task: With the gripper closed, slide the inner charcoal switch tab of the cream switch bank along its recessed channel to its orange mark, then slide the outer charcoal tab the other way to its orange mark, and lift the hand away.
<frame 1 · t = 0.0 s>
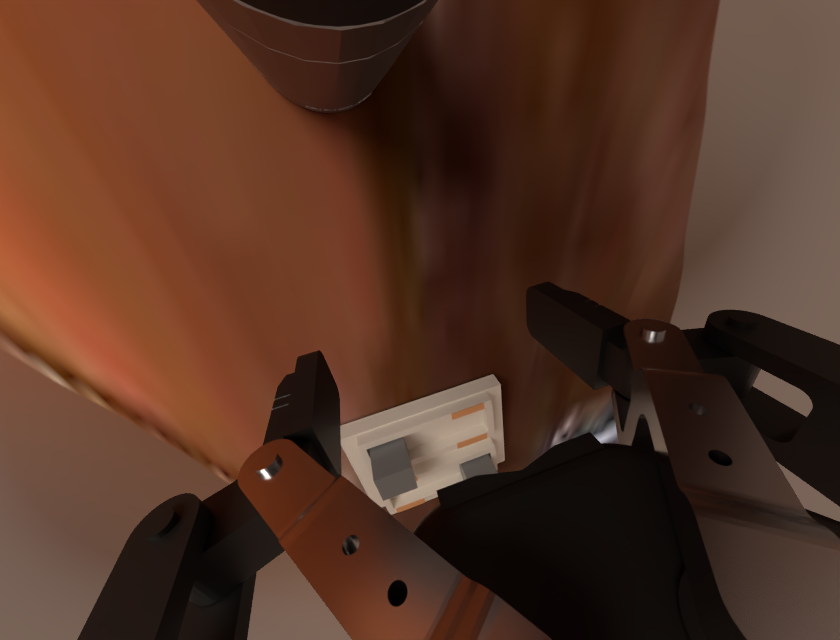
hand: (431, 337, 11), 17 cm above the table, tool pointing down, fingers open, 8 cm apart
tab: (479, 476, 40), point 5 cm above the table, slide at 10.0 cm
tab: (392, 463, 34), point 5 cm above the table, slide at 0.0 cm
switch bank: (429, 439, 41), on the table
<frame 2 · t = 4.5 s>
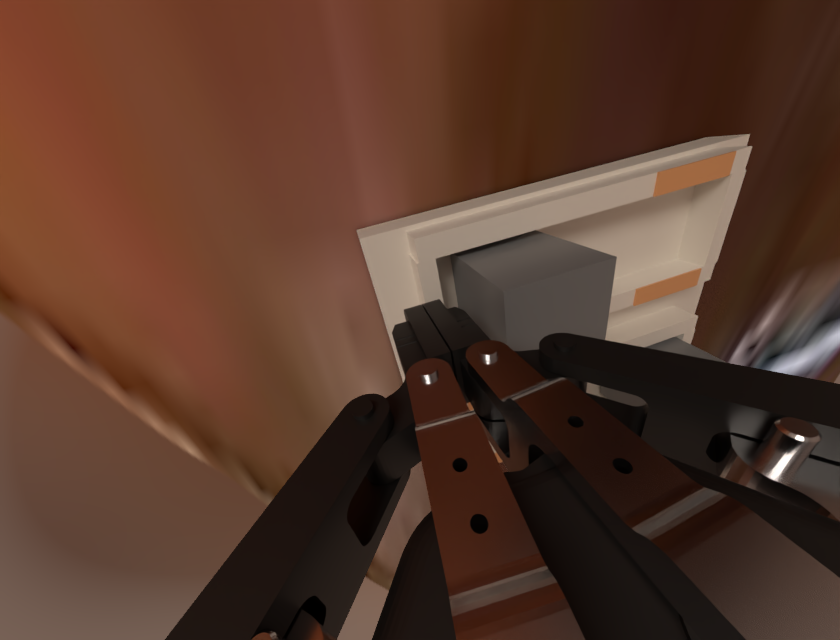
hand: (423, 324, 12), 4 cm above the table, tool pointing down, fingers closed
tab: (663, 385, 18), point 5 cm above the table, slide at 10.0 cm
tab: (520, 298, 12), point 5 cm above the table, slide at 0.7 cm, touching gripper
switch bank: (543, 312, 19), on the table
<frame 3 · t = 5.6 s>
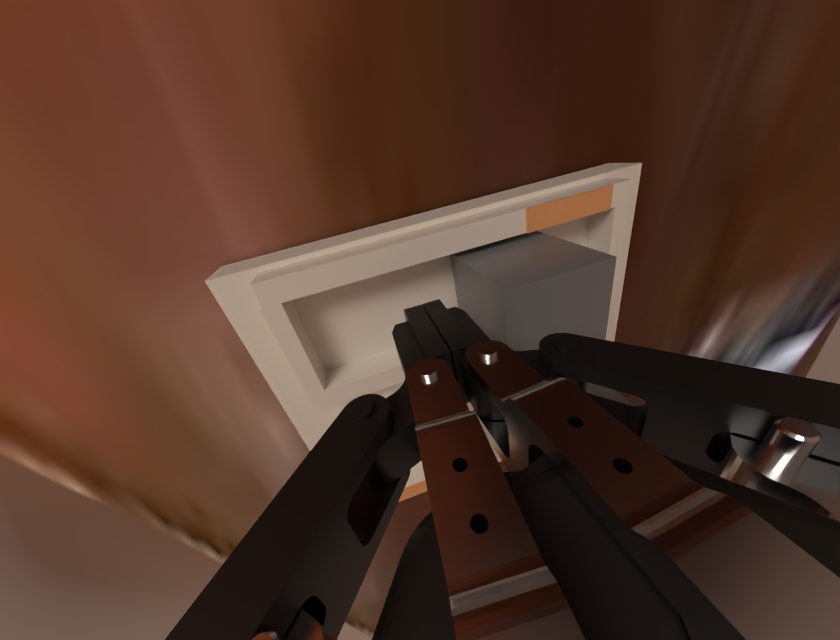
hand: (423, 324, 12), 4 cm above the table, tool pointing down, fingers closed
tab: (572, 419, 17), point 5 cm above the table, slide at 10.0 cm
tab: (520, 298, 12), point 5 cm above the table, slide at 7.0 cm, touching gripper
switch bank: (454, 341, 19), on the table
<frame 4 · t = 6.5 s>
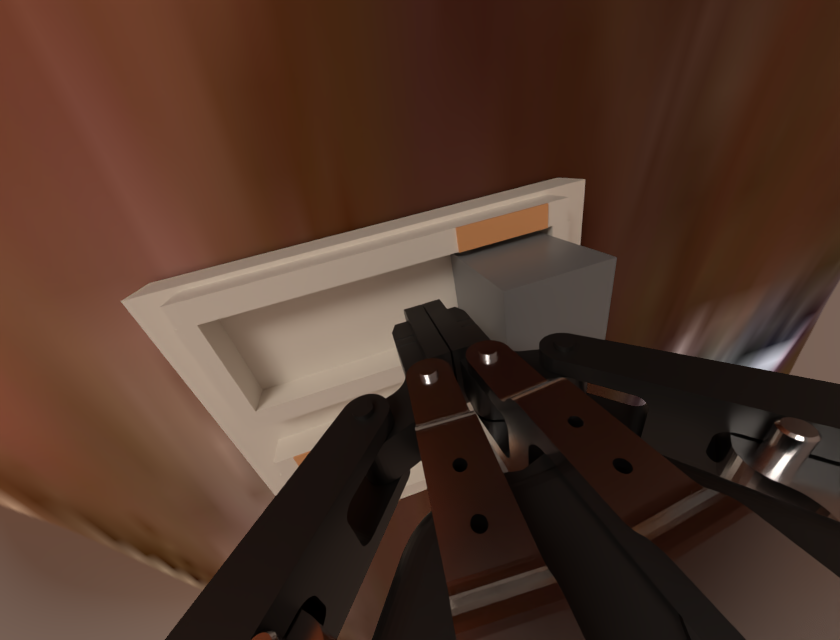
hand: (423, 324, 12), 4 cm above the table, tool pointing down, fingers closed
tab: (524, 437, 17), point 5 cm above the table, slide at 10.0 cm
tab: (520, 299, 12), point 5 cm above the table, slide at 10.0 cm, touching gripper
switch bank: (406, 356, 18), on the table
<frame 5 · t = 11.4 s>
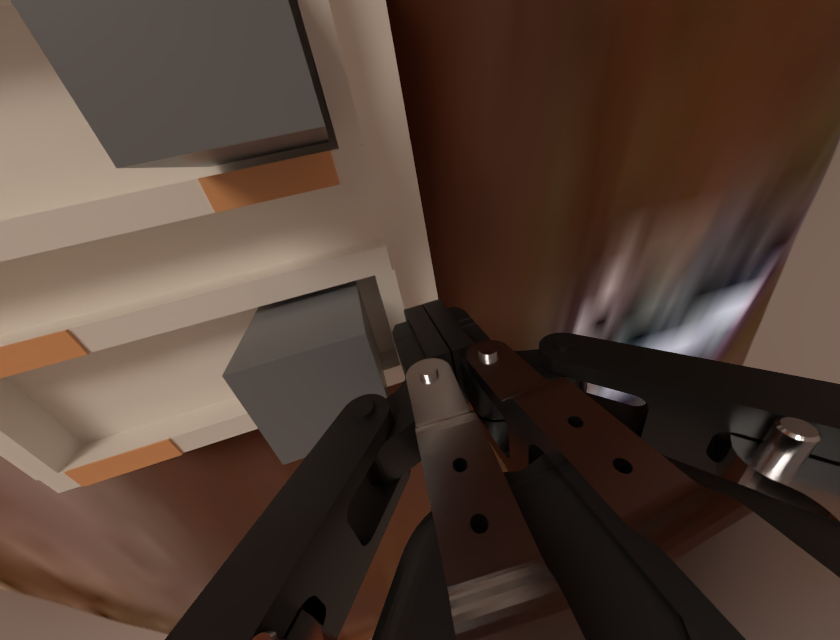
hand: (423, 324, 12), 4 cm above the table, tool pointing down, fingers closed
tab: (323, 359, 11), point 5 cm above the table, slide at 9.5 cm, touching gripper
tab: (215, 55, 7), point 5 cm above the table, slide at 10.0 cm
switch bank: (186, 246, 13), on the table
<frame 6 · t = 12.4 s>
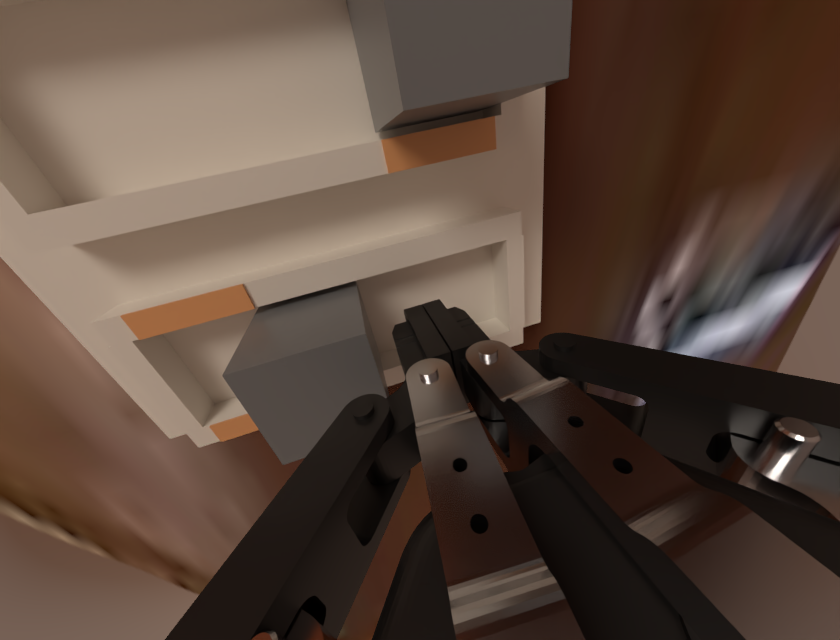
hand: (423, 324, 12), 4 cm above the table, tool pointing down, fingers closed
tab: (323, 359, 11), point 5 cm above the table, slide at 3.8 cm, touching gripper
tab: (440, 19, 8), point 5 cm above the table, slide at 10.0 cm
switch bank: (318, 215, 13), on the table
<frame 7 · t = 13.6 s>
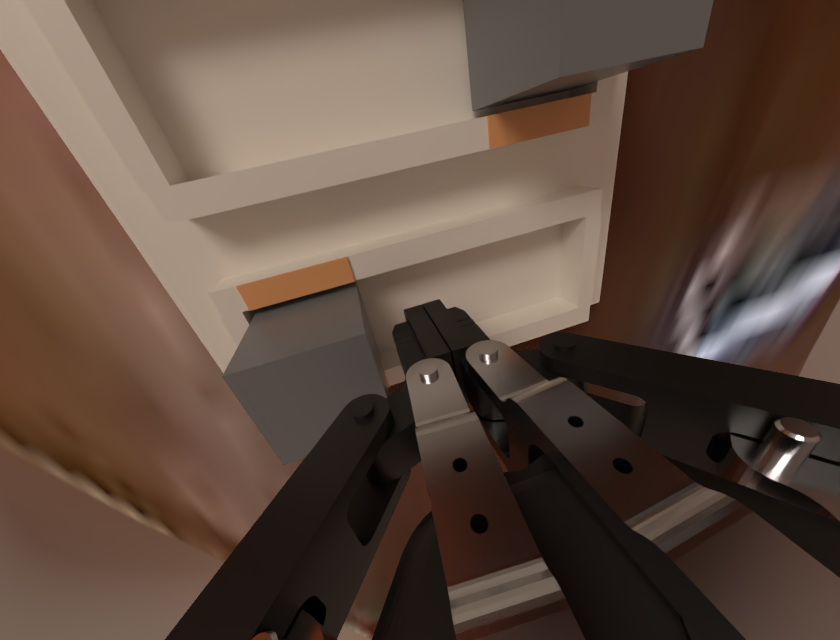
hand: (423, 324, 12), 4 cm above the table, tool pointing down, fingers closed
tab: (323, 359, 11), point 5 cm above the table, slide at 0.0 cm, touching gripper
switch bank: (398, 195, 14), on the table
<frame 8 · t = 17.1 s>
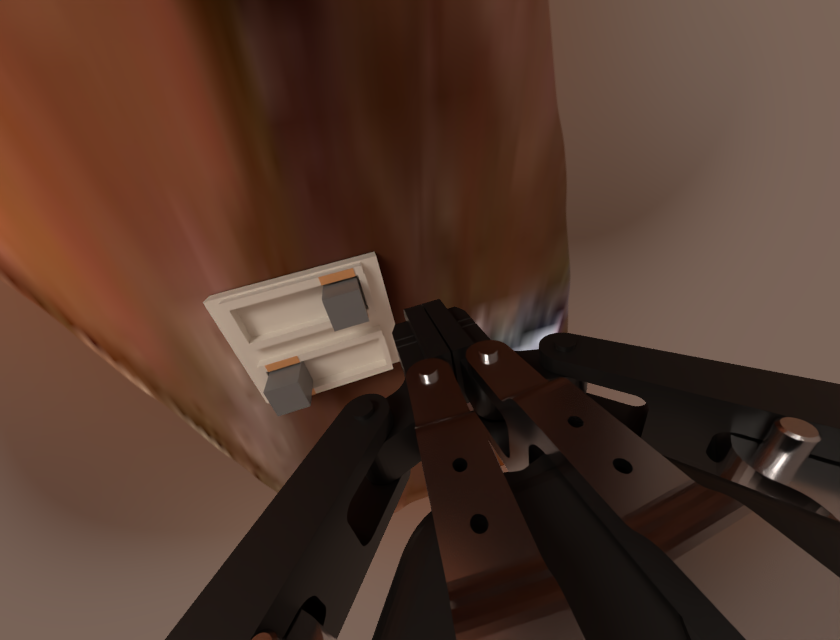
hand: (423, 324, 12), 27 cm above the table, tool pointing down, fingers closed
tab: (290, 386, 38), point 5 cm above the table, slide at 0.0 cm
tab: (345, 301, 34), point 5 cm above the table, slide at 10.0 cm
switch bank: (318, 327, 40), on the table
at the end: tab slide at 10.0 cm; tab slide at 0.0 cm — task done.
